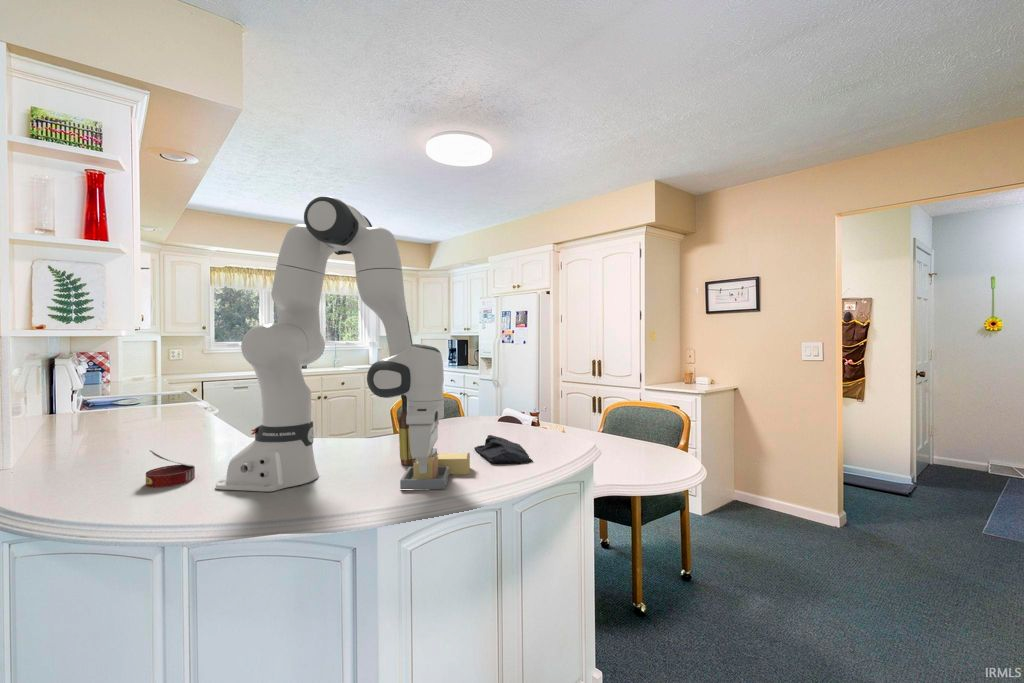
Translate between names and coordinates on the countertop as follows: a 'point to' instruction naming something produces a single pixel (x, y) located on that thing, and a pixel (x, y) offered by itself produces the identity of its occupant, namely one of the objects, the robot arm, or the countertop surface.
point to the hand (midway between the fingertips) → (425, 468)
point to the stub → (430, 472)
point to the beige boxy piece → (454, 461)
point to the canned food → (169, 475)
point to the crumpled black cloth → (502, 451)
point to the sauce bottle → (404, 435)
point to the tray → (425, 480)
